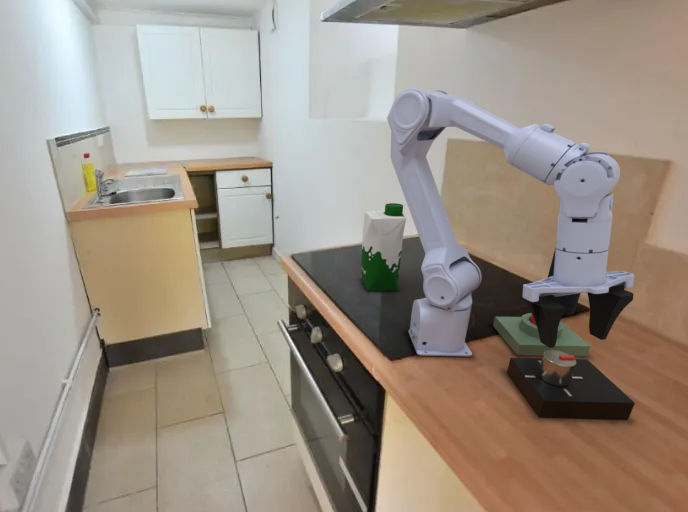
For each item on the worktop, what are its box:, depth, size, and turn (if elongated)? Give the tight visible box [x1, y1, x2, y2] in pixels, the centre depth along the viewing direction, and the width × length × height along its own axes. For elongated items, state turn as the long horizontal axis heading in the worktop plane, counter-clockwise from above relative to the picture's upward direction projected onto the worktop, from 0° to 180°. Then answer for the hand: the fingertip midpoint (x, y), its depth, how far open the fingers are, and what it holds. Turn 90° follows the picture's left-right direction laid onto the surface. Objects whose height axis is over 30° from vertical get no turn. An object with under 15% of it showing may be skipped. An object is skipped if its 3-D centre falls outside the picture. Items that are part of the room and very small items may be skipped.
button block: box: [492, 312, 591, 358], centre depth 70 cm, size 12×10×4 cm
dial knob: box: [538, 350, 576, 386], centre depth 55 cm, size 4×4×4 cm
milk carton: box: [360, 202, 407, 292], centre depth 90 cm, size 9×9×20 cm
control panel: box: [506, 357, 636, 421], centre depth 56 cm, size 12×10×3 cm
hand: (572, 340), depth 54 cm, fingers open, 7 cm apart
